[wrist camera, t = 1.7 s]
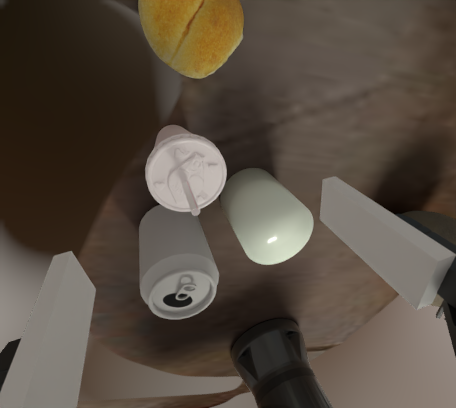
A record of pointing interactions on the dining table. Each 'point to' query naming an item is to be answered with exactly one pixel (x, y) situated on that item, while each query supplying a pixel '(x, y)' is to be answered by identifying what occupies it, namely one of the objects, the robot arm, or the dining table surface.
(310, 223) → the sage mug
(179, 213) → the can
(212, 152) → the smoothie
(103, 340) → the dining table surface
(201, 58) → the bread roll
